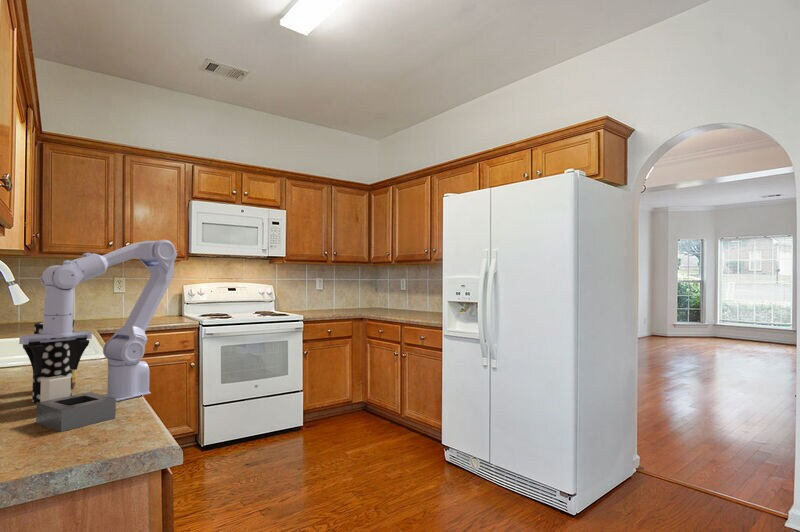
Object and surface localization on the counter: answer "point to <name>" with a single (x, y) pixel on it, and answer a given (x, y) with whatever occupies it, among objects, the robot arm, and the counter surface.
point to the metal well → (75, 411)
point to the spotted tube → (52, 362)
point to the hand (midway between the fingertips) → (55, 371)
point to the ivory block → (55, 387)
